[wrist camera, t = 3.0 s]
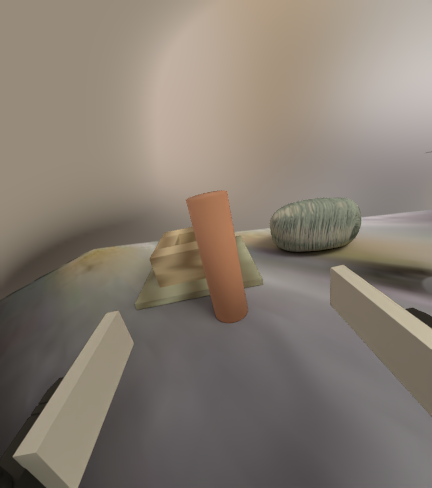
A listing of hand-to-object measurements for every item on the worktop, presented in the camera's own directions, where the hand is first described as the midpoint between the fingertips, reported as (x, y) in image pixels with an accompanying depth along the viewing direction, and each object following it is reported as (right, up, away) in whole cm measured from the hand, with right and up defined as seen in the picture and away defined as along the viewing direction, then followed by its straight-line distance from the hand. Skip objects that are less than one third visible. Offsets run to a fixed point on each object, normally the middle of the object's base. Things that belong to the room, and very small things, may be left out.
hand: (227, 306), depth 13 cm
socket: (-4, 0, +24) cm, 25 cm away
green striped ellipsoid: (+16, +3, +23) cm, 28 cm away
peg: (+1, -4, +12) cm, 13 cm away
